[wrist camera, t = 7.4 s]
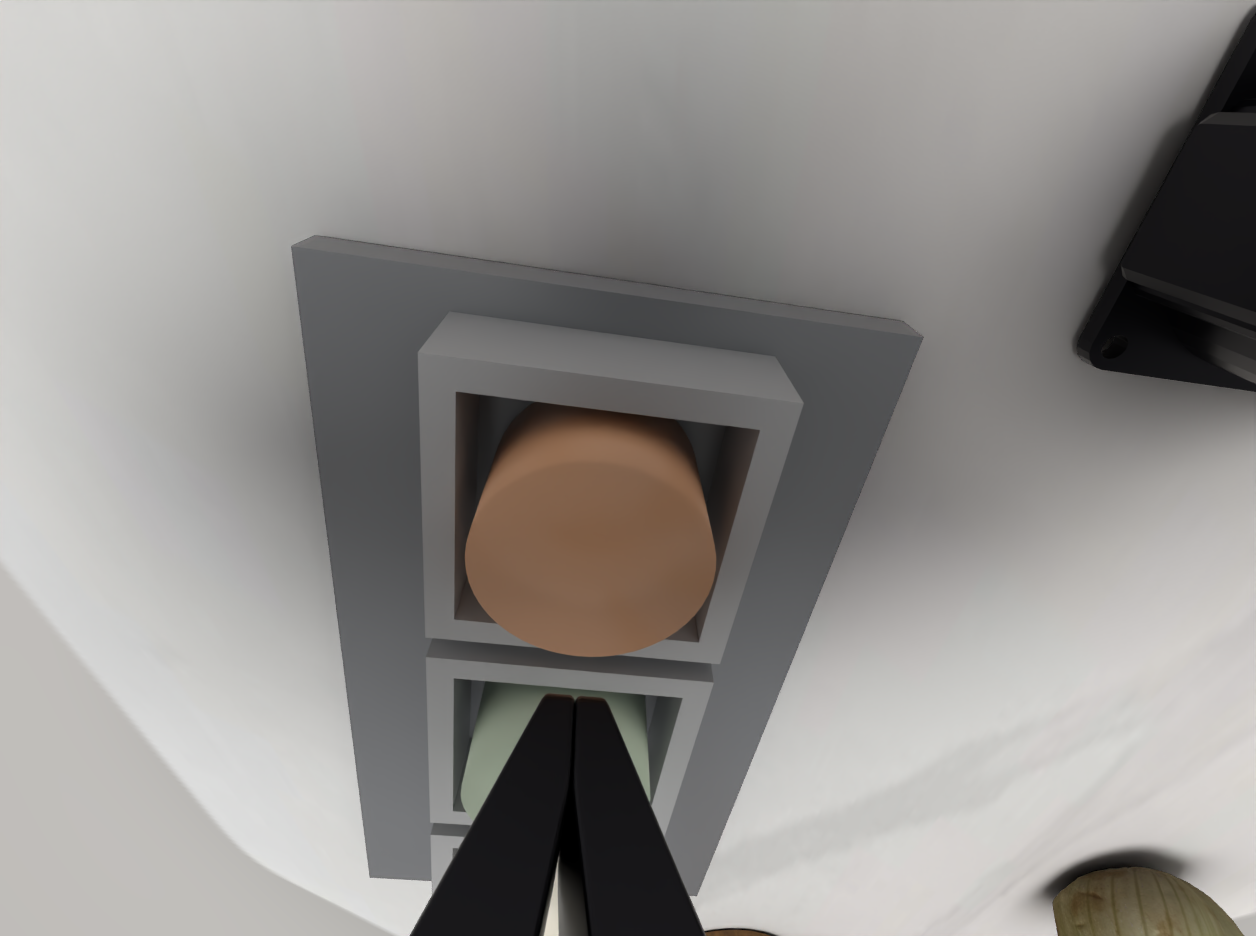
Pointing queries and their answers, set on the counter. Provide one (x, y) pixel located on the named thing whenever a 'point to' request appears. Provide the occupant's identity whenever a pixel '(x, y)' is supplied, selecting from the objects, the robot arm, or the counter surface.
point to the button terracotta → (591, 531)
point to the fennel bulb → (1138, 906)
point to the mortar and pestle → (734, 933)
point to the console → (458, 470)
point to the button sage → (508, 717)
